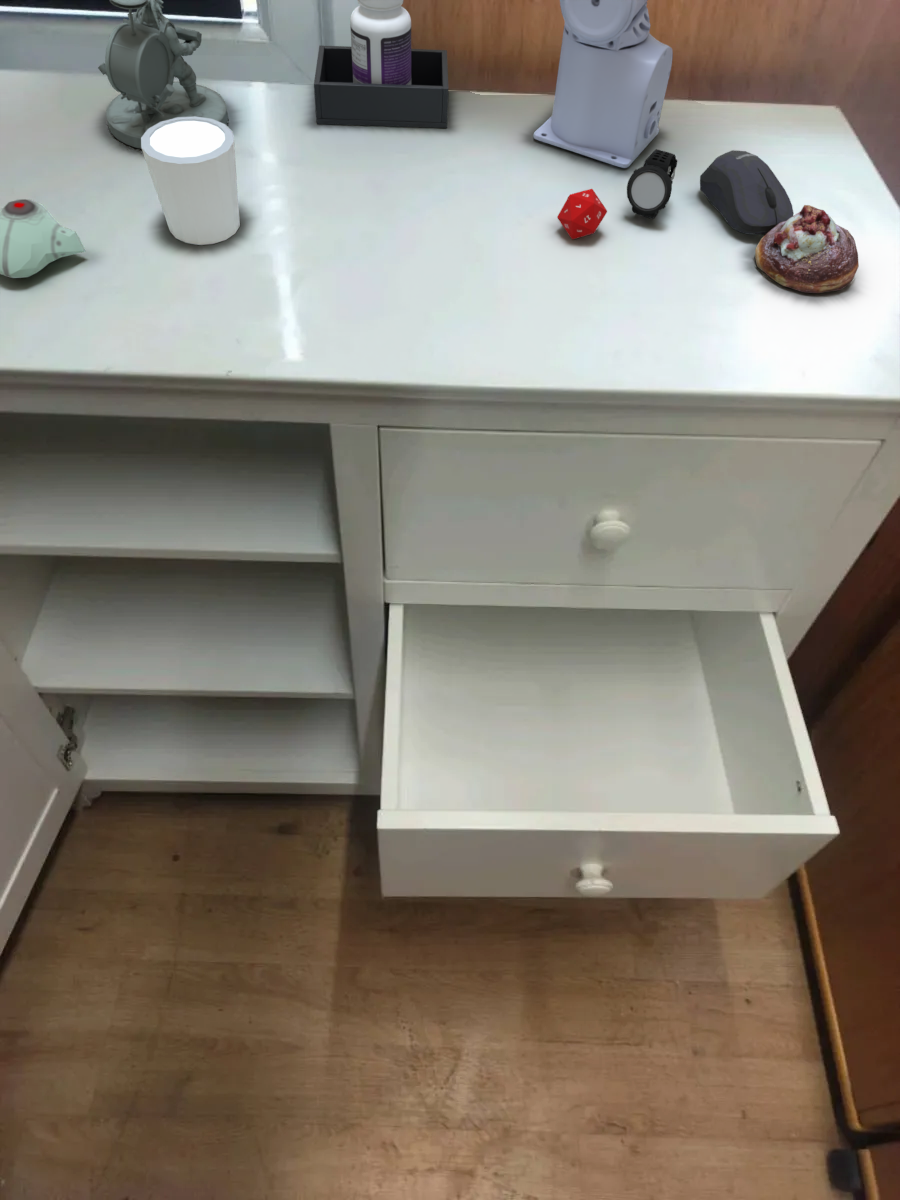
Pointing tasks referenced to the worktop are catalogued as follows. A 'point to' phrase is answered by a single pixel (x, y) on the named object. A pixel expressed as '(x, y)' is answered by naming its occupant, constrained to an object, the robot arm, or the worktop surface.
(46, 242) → the robot head
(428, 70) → the bin
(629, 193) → the smartwatch
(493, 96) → the worktop surface
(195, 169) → the white cylinder
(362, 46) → the pill bottle
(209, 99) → the figurine
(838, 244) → the pastry
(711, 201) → the computer mouse
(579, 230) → the die
